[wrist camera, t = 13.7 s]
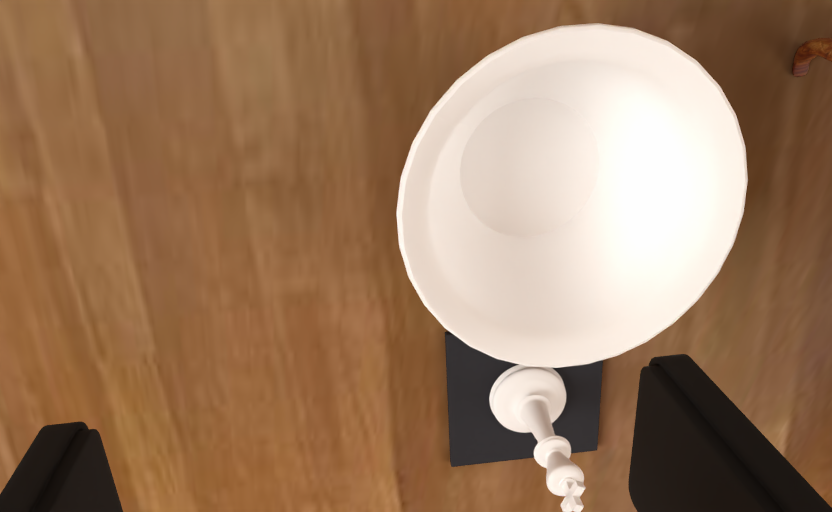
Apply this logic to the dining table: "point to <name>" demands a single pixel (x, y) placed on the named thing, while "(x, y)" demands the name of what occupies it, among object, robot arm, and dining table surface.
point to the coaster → (477, 425)
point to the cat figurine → (811, 54)
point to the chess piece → (540, 425)
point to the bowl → (572, 195)
